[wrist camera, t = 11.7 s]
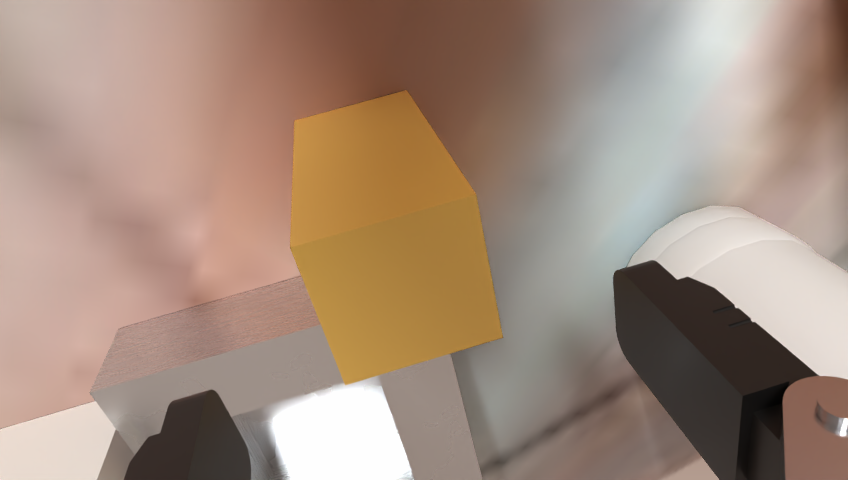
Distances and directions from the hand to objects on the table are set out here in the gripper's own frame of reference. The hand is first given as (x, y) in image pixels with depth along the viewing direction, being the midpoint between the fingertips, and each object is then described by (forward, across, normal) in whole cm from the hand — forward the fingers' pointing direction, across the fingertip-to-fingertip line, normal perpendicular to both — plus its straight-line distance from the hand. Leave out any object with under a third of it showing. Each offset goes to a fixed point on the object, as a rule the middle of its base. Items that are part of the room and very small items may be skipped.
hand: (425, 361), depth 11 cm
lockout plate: (+11, +5, +10) cm, 16 cm away
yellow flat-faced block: (+11, 0, 0) cm, 11 cm away
